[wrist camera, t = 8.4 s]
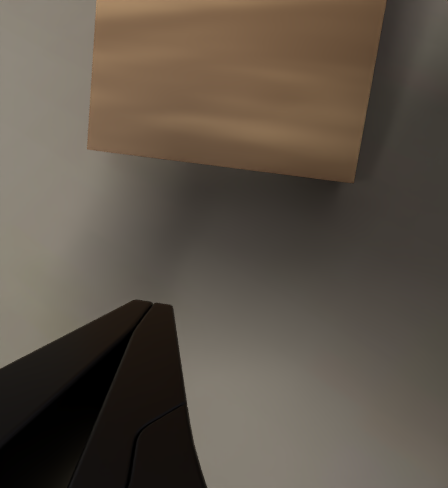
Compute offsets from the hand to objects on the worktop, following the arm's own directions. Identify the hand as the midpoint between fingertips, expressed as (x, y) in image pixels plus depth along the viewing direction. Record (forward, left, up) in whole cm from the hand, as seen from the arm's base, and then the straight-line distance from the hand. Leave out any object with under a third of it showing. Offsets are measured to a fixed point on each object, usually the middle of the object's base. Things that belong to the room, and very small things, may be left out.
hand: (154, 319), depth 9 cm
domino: (+7, +4, -7) cm, 10 cm away
